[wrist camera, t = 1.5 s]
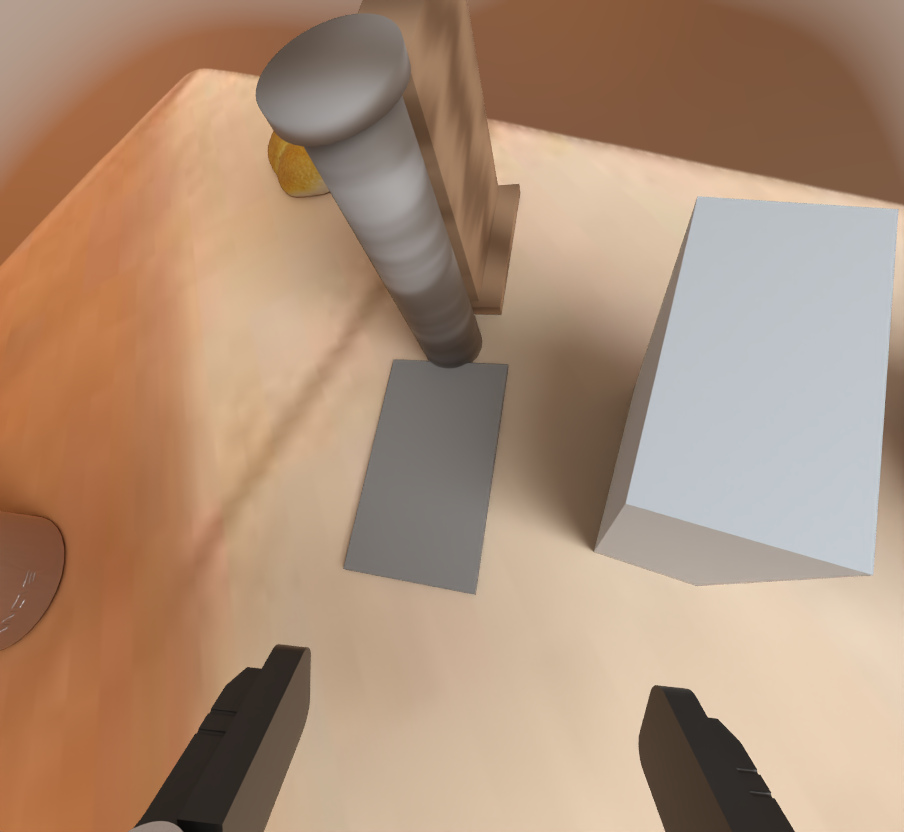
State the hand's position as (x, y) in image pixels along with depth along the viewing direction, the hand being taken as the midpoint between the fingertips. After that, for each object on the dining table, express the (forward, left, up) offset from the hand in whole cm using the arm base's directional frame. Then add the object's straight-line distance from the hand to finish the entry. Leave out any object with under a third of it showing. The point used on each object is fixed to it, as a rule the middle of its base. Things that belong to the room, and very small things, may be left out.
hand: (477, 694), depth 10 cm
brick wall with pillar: (-11, +21, -14) cm, 27 cm away
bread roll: (-29, +31, -14) cm, 45 cm away
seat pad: (-8, +7, -14) cm, 18 cm away
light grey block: (+5, +10, -14) cm, 18 cm away
